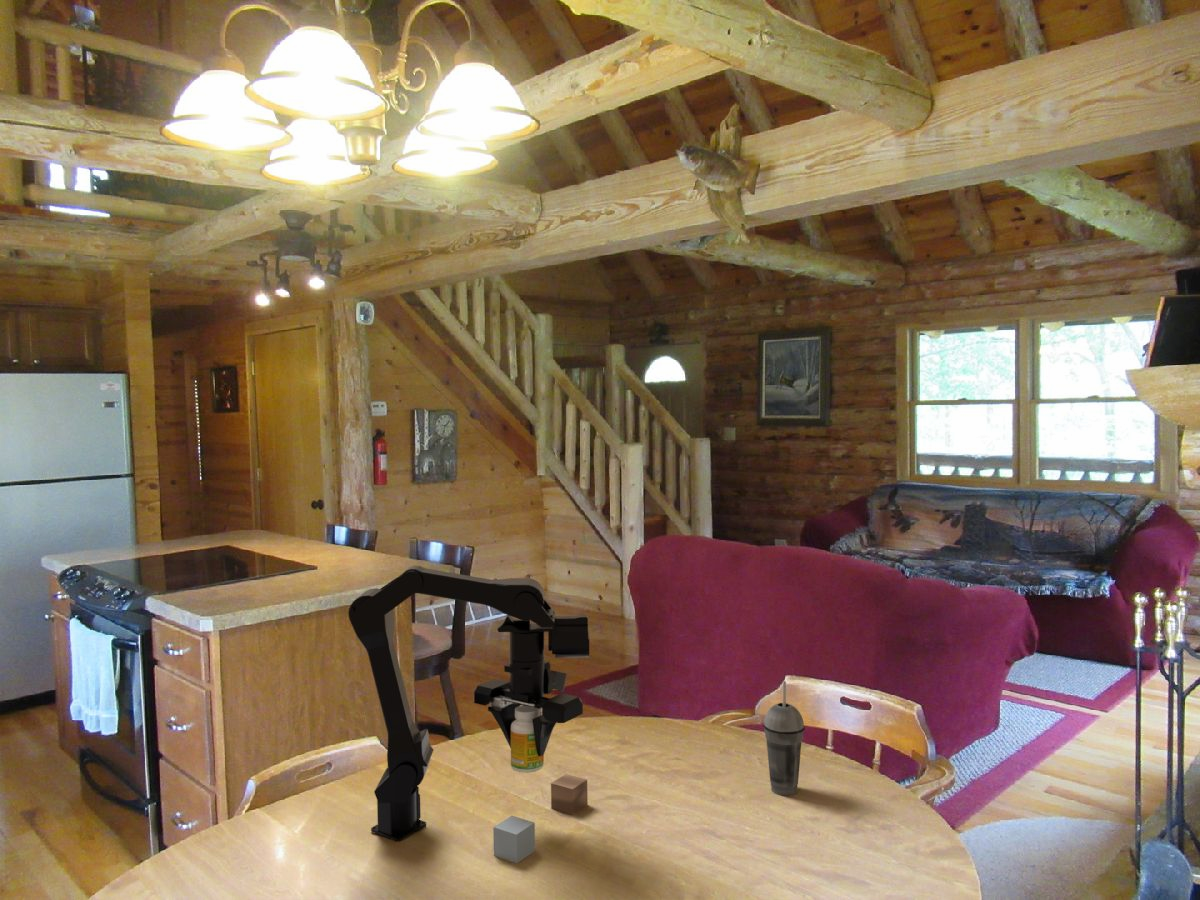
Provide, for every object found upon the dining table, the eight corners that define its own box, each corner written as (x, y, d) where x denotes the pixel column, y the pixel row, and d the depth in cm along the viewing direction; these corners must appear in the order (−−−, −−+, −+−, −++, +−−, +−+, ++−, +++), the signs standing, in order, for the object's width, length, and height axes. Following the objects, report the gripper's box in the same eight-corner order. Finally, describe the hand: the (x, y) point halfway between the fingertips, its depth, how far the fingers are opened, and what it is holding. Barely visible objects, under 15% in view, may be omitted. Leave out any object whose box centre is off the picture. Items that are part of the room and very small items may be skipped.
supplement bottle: (528, 776, 137) (528, 716, 136) (503, 768, 140) (503, 709, 140) (550, 765, 141) (550, 707, 141) (526, 758, 144) (525, 701, 144)
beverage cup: (802, 782, 156) (801, 673, 156) (807, 799, 149) (807, 686, 148) (761, 781, 157) (761, 673, 156) (765, 798, 150) (764, 685, 149)
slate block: (516, 863, 129) (516, 834, 129) (493, 855, 131) (493, 827, 131) (535, 851, 132) (534, 822, 132) (512, 843, 135) (511, 815, 135)
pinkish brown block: (572, 815, 144) (572, 789, 144) (551, 809, 147) (550, 783, 147) (587, 805, 148) (587, 779, 148) (566, 799, 151) (566, 773, 150)
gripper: (601, 654, 141) (601, 748, 142) (513, 639, 152) (514, 726, 152) (562, 671, 132) (562, 770, 133) (471, 653, 142) (471, 746, 143)
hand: (527, 751), depth 140 cm, fingers closed on supplement bottle, 5 cm apart
